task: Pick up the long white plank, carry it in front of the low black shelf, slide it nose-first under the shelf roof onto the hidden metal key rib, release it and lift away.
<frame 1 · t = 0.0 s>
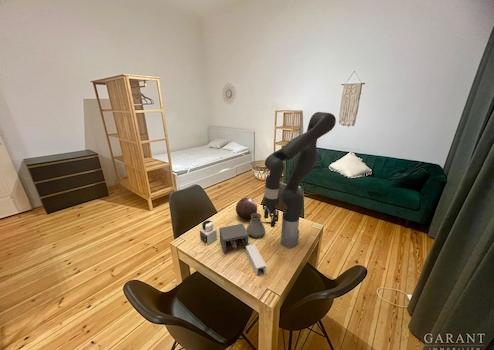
hand: (269, 222, 109), 17 cm above the table, tool pointing down, fingers open, 8 cm apart
coffee pot: (261, 237, 124), on the table
wooden sphere: (246, 218, 144), on the table
long white plank: (255, 262, 105), on the table
shelf: (233, 244, 117), on the table
medicine bottle: (208, 239, 122), on the table
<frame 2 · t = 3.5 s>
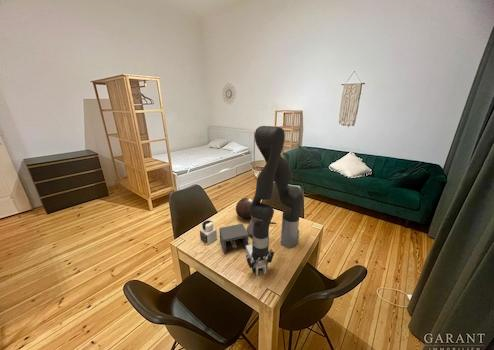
hand: (259, 270, 99), 0 cm above the table, tool pointing down, fingers closed on long white plank, 5 cm apart
long white plank: (255, 262, 105), on the table, touching gripper
everything else where it was.
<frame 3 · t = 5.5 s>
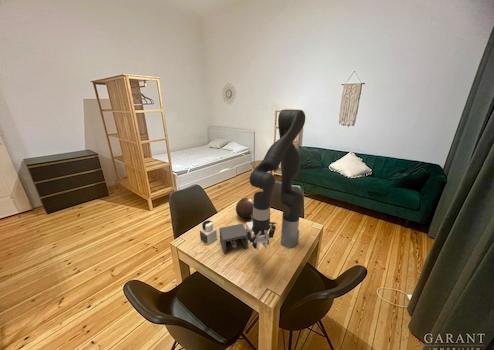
hand: (260, 246, 94), 15 cm above the table, tool pointing down, fingers closed on long white plank, 5 cm apart
long white plank: (255, 239, 100), point 15 cm above the table, touching gripper
everything else where it was.
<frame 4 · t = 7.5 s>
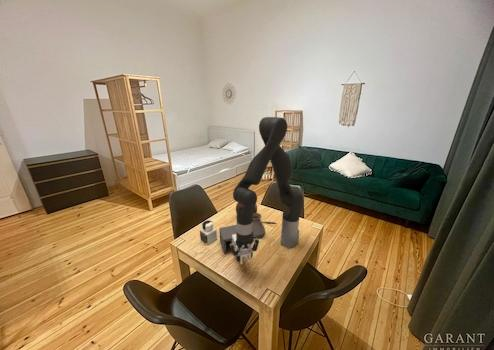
hand: (244, 259, 96), 8 cm above the table, tool pointing down, fingers closed on long white plank, 5 cm apart
long white plank: (240, 251, 102), point 7 cm above the table, touching gripper
everything else where it was.
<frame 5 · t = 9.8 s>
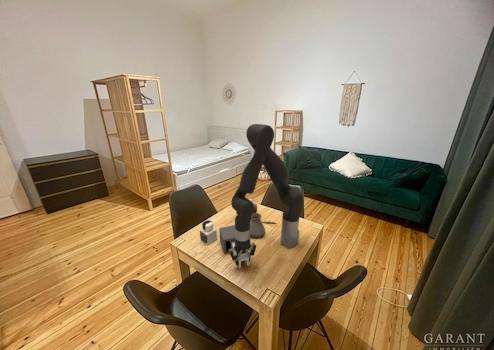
hand: (242, 263, 102), 2 cm above the table, tool pointing down, fingers closed on long white plank, 5 cm apart
long white plank: (239, 255, 107), point 1 cm above the table, touching gripper
everything else where it was.
when the fingers open (2 cm above the table, at t = 11.6 s): long white plank drops 2 cm, on the table.
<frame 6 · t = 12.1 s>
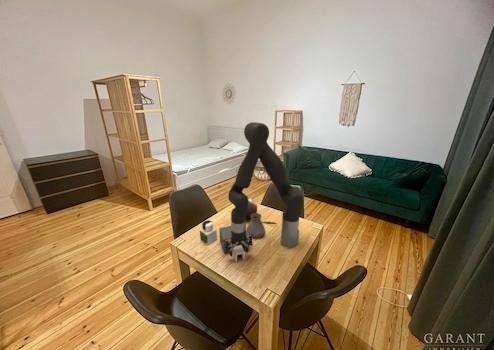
hand: (238, 253, 107), 3 cm above the table, tool pointing down, fingers open, 8 cm apart
long white plank: (236, 250, 113), on the table
everything else where it was.
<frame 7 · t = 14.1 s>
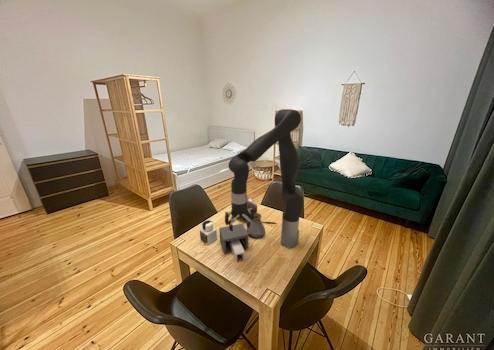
hand: (239, 228, 101), 19 cm above the table, tool pointing down, fingers open, 8 cm apart
nothing on the table moved.
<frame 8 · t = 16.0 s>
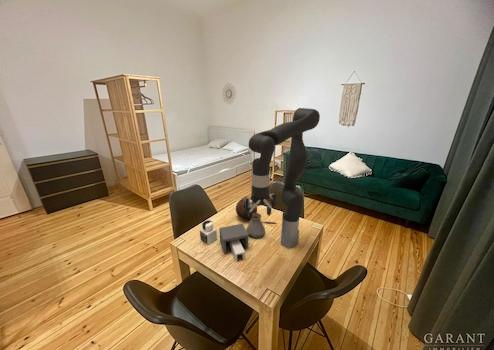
hand: (259, 216, 91), 30 cm above the table, tool pointing down, fingers open, 8 cm apart
nothing on the table moved.
at the end: long white plank 0.1 cm from the target spot on the shelf, point 0.0 cm above the shelf's base; long white plank tilted 0°; the gripper is holding nothing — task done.
